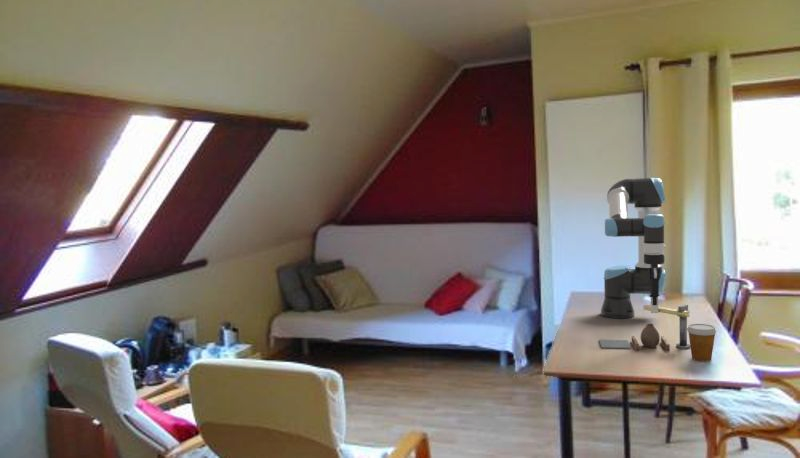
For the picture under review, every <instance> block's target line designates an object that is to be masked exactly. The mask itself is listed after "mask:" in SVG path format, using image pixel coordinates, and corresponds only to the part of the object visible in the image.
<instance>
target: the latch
mask: <svg viewBox="0 0 800 458" xmlns="http://www.w3.org/2000/svg"><path fill="white" fill-rule="evenodd" d="M642 307H643V308H642V309H643V310H644V311H650V312H651V304H650V305H649V304H645V305H643V306H642ZM677 308H678V309H676V308H675V309H674V308H670V307H662V306H658V313H660V314H661V313H662V314H667V315H674V316H677V317H679V318H680V317H687V318H689V317H690V310H689V304H682V305H679V306H678V307H677Z"/></svg>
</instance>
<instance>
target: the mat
mask: <svg viewBox="0 0 800 458" xmlns="http://www.w3.org/2000/svg"><path fill="white" fill-rule="evenodd" d="M598 341H599V345H600V347H601V349H603V350H604V349H608V350H632V346H631V344H630V342H629V340H628V339H599V340H598Z"/></svg>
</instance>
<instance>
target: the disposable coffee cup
mask: <svg viewBox="0 0 800 458" xmlns="http://www.w3.org/2000/svg"><path fill="white" fill-rule="evenodd" d="M687 333H688V339H689V345H690V352H691V353H690V354H691V359H692V360H694V361H697V362H702V361H703V362H706V361H707V362H710V360H711V361H712V357H713V351H714V350H713V349H714V344H715V335H716V333H717V330H716V327H715V326H714V325H712V324H709V323H708V324H707V323H691V324H690V323H689V324H688V325H687Z"/></svg>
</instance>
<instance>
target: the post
mask: <svg viewBox="0 0 800 458" xmlns="http://www.w3.org/2000/svg"><path fill="white" fill-rule="evenodd" d="M687 328H688V317H679V343H676V344H675V348H677V349H681V350H689V349H691V347H690V343H689V344H688V330H687Z"/></svg>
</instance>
